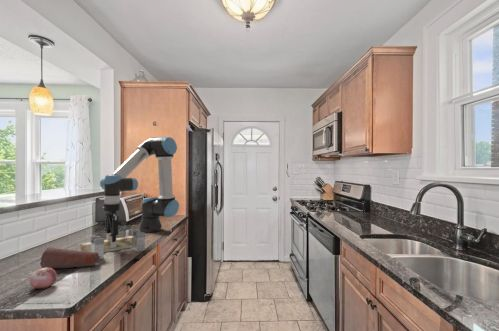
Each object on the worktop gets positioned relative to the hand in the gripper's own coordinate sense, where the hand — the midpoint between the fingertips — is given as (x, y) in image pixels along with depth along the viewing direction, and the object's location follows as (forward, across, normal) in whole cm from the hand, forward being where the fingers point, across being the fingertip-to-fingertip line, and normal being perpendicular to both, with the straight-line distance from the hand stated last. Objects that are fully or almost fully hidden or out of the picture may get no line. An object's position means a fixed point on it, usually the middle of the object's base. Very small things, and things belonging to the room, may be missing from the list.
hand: (111, 246), depth 150 cm
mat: (+1, 0, 0) cm, 1 cm away
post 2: (+1, +12, +10) cm, 15 cm away
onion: (+1, +36, -34) cm, 49 cm away
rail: (+1, 0, 0) cm, 1 cm away
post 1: (+1, +12, -10) cm, 15 cm away
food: (+2, +19, -22) cm, 29 cm away
